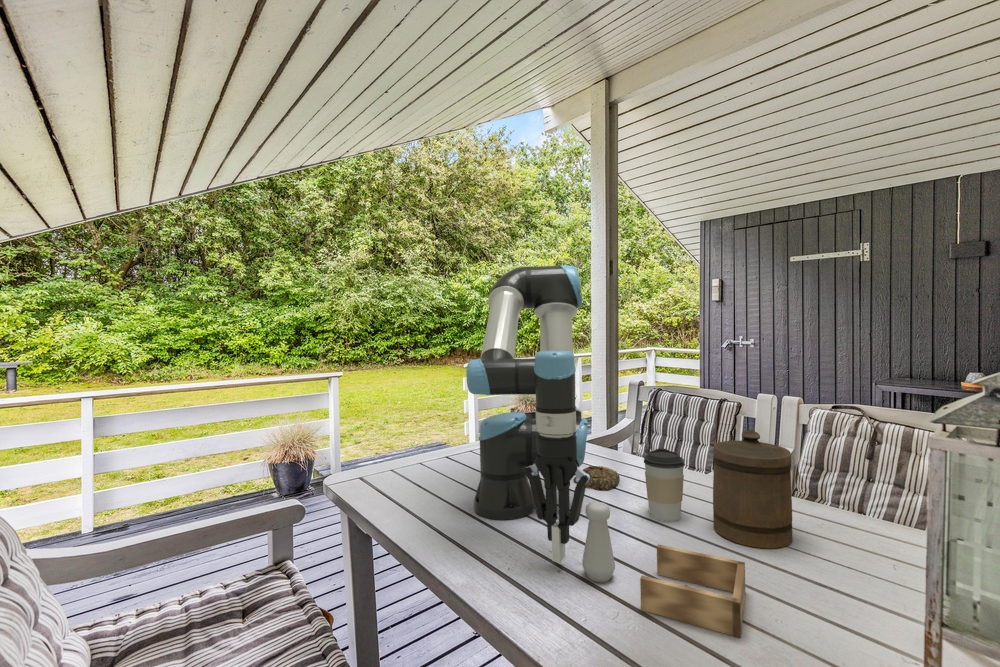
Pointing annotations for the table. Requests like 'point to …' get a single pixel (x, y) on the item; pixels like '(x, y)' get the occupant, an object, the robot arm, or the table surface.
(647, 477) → the coffee cup
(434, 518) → the table surface
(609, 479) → the bread roll
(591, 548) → the salt shaker
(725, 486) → the wooden container
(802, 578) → the table surface
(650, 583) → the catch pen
